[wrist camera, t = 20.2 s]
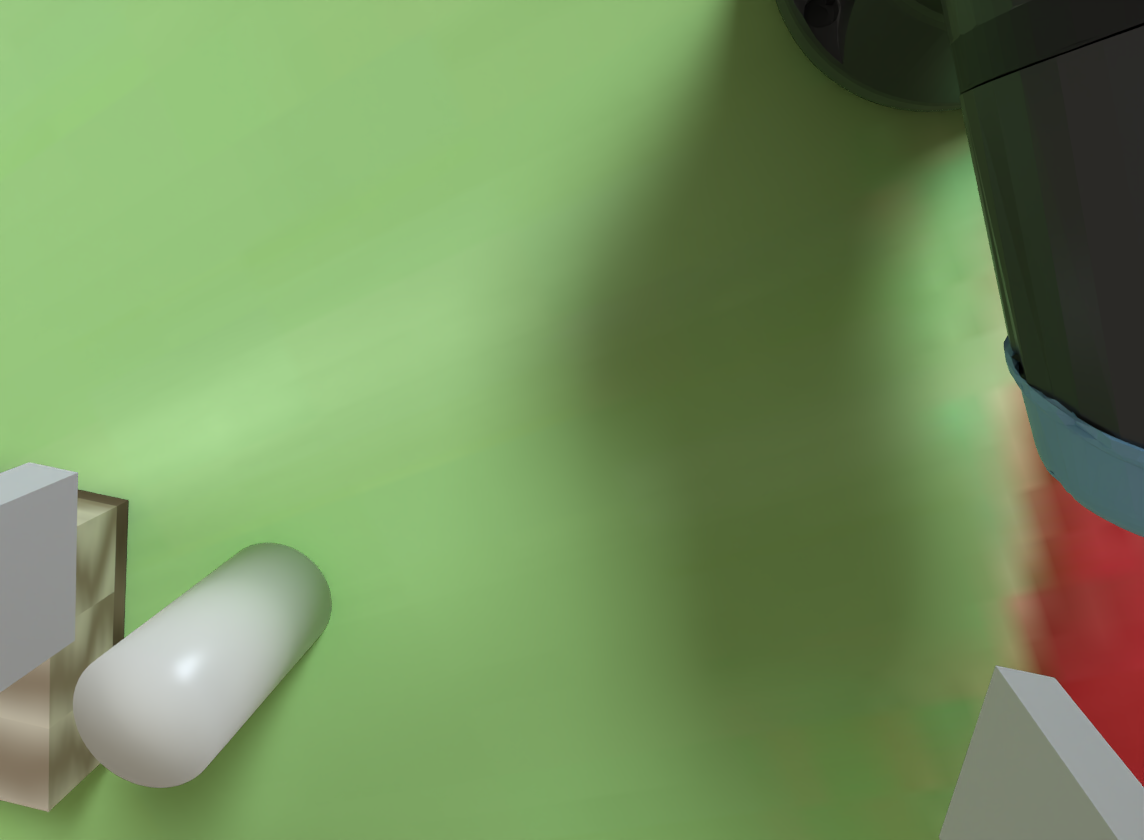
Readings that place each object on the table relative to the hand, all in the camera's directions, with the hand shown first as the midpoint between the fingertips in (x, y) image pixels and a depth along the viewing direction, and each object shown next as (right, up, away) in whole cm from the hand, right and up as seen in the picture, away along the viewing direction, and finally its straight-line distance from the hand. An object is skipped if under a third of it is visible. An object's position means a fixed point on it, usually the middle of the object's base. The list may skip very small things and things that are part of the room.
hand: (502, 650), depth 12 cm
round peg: (-16, -7, +36) cm, 39 cm away
